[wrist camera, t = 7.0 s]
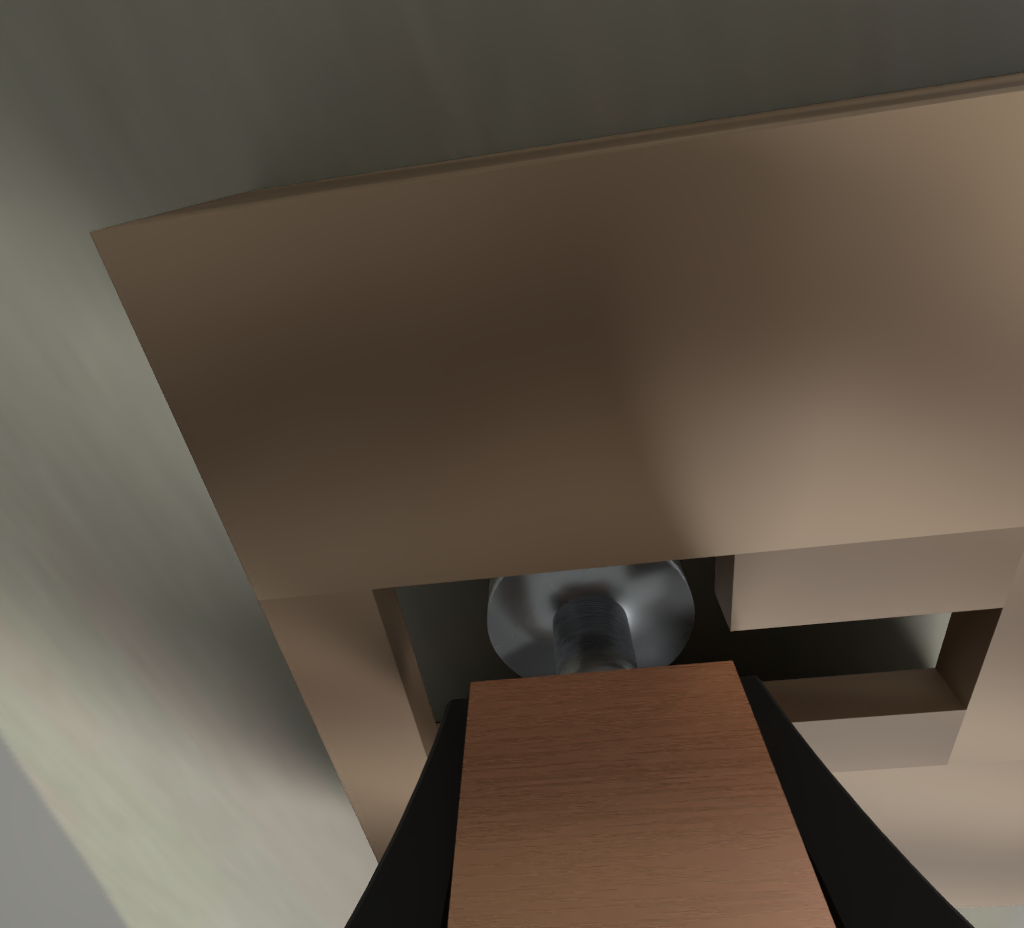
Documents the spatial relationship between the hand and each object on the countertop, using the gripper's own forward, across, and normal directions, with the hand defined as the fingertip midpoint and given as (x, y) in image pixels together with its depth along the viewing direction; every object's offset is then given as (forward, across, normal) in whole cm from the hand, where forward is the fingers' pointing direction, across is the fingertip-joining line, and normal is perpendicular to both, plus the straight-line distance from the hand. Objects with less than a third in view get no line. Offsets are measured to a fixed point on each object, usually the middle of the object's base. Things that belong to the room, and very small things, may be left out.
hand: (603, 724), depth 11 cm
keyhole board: (+6, -2, 0) cm, 6 cm away
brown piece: (+3, 0, 0) cm, 3 cm away
